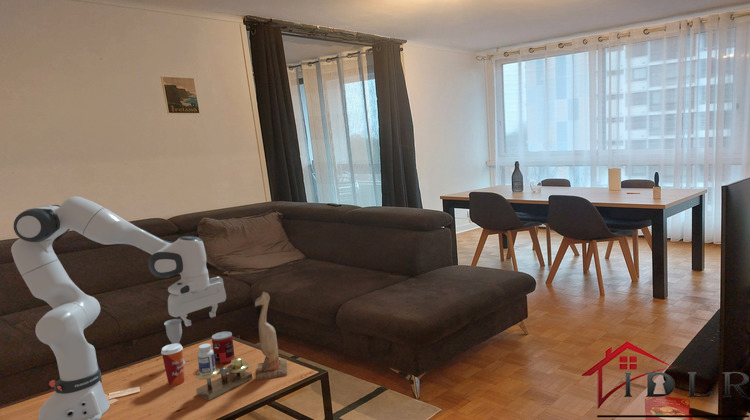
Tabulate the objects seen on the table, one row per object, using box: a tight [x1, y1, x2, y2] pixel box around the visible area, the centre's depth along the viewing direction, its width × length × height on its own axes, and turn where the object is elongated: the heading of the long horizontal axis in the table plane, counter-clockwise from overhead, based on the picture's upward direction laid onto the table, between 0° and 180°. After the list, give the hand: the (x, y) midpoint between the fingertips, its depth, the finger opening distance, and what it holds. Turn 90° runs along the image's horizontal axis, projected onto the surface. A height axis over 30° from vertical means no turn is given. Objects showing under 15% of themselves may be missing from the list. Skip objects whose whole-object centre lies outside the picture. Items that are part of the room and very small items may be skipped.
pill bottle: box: [197, 343, 216, 375], centre depth 171 cm, size 5×5×10 cm
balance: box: [195, 356, 253, 401], centre depth 176 cm, size 20×8×8 cm, turn 140°
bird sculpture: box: [254, 291, 288, 381], centre depth 184 cm, size 11×12×32 cm
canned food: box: [211, 331, 236, 365], centre depth 199 cm, size 8×8×11 cm
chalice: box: [163, 318, 186, 365], centre depth 199 cm, size 7×7×18 cm
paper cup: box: [160, 343, 185, 387], centre depth 183 cm, size 8×8×14 cm
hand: (200, 321), depth 169 cm, fingers open, 8 cm apart
